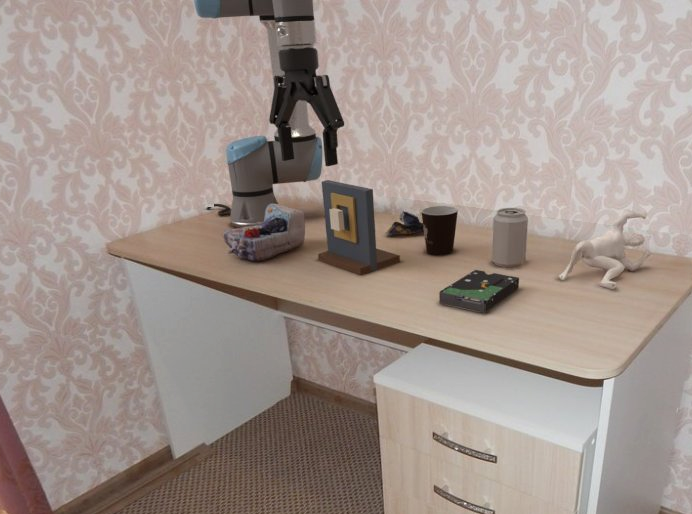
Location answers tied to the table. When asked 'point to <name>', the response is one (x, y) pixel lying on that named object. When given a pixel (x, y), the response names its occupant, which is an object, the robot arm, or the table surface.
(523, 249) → the can
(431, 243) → the coffee mug
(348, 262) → the switch wall
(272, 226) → the cell model
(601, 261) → the person figurine
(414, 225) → the snack package
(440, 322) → the table surface
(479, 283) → the disk drive
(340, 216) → the switch paddle
